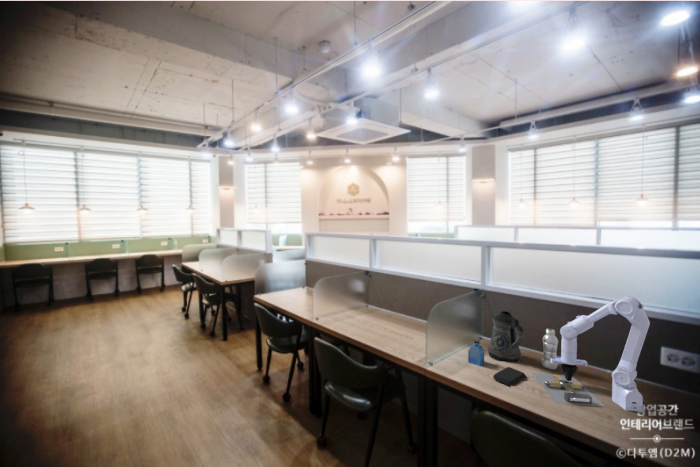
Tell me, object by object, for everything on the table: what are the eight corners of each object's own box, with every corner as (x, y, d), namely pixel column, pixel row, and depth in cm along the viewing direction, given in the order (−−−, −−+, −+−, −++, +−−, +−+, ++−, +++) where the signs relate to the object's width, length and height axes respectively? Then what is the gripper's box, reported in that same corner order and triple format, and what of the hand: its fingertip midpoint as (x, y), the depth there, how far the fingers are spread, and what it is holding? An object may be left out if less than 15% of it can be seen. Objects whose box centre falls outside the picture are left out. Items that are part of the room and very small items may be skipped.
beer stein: (494, 347, 178) (494, 306, 177) (531, 358, 164) (531, 313, 163) (483, 356, 167) (483, 312, 165) (521, 368, 153) (522, 320, 152)
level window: (593, 405, 121) (593, 398, 121) (568, 403, 122) (568, 397, 122) (588, 400, 124) (588, 394, 124) (564, 398, 126) (564, 392, 125)
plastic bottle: (543, 363, 158) (544, 326, 157) (558, 368, 153) (559, 329, 152) (540, 368, 153) (540, 329, 152) (556, 372, 148) (556, 333, 147)
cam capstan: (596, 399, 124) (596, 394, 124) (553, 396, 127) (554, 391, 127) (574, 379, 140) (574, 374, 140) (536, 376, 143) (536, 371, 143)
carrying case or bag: (514, 390, 134) (529, 379, 143) (514, 383, 134) (530, 373, 143) (491, 380, 143) (507, 370, 152) (491, 373, 143) (507, 364, 151)
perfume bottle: (484, 361, 161) (484, 339, 160) (480, 366, 156) (480, 343, 156) (472, 358, 165) (472, 336, 164) (468, 362, 160) (468, 340, 160)
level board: (605, 408, 120) (605, 406, 120) (556, 404, 123) (556, 402, 123) (571, 377, 144) (571, 375, 144) (530, 374, 147) (530, 373, 147)
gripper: (581, 348, 140) (580, 376, 141) (547, 346, 142) (546, 374, 143) (590, 354, 133) (589, 384, 134) (554, 352, 135) (554, 382, 136)
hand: (568, 379), depth 138 cm, fingers closed
